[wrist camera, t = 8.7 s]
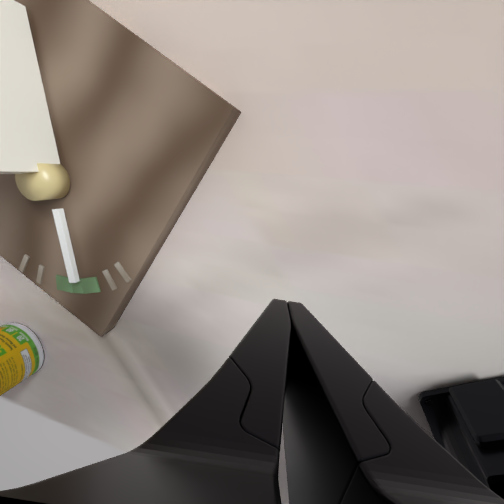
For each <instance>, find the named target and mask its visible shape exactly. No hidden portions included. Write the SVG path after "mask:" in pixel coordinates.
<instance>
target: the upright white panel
mask: <svg viewBox="0 0 504 504" xmlns="http://www.w3.org/2000/svg"><path fill="white" fill-rule="evenodd" d="M0 174H15V180H16V184H17V187H18V189H19V191H20V192H21V193H22V195H23V196H25V197H26V198H27V199H29V200H32V201H39V200H50V199H60V198H63V197H64V196H66V195H67V193H68V191H69V188H70V178H69V175H68V173H67V171H66V169H65V168H64V167H63V166H62V165H61V164H60V160H59V156H58V151H57V147H56V142H55V138H54V133H53V129H52V124H51V120H50V115H49V111H48V106H47V102H46V97H45V93H44V88H43V84H42V79H41V75H40V70H39V66H38V61H37V57H36V52H35V48H34V43H33V39H32V34H31V30H30V25H29V21H28V16H27V12H26V7H25V6H24V5H22V4H20V3H18V2H16V1H14V0H0ZM52 212H53V216H54V220H55V225H56V229H57V233H58V237H59V242H60V246H61V250H62V254H63V259H64V263H65V267H66V271H67V275H68V280H69V283H77V282H79V281H80V279H79V275H78V270H77V266H76V262H75V257H74V253H73V249H72V244H71V240H70V235H69V231H68V227H67V222H66V218H65V213H64V209H63V208H61V209H52Z"/></svg>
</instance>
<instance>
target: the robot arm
mask: <svg viewBox="0 0 504 504" xmlns="http://www.w3.org/2000/svg"><path fill="white" fill-rule="evenodd" d="M372 380H373V379H372V378H371V377H370V375H369V374H368V373H367V372H366V371H365V370H364V369H363V368H362V367H361V366H360V365H359V364H358V363H357V362H356V361H355V360H354V358H353V357H352V356H351V355H350V354H349V353H348V352H347V351H346V350H345V349H344V348H343V347H342V346H341V345H340V344H339V343H338V341H337V340H336V339H335V338H334V337H333V336H332V335H331V334H330V333H329V332H328V331H327V330H326V329H325V328H324V327H323V326H322V324H321V323H320V322H319V321H318V320H317V319H316V318H315V317H314V316H313V315H312V314H311V313H310V312H309V311H308V310H307V309H306V307H305V306H304V305H303V304H301V303H297V302H291V301H289V302H286V301H285V300H278V299H273V300H272V301H271V302H270V304H269V305H268V306H267V308H266V309H265V310H264V312H263V313H262V314H261V315H260V317H259V318H258V319H257V321H256V322H255V323H254V325H253V326H252V327H251V329H250V330H249V331H248V333H247V334H246V335H245V336H244V338H243V339H242V340H241V342H240V343H239V344H238V346H237V347H236V348H235V350H234V351H233V352H232V354H231V355H230V356H229V358H228V359H227V360H226V361H225V362H224V364H223V365H222V366H221V368H220V369H219V370H218V371H217V372H216V374H215V375H214V376H213V377H212V378H211V380H210V381H209V382H208V383H207V384H206V385H205V386H204V387H203V388H202V389H201V390H200V391H199V392H198V393H197V394H196V395H195V396H194V397H193V398H192V399H191V400H190V401H189V402H188V403H187V404H186V405H185V406H183V407H182V408H181V409H180V410H179V411H178V412H177V413H176V414H175V415H174V416H173V417H172V418H171V419H170V420H169V421H168V422H167V423H166V424H165V425H164V426H163V427H161V428H160V429H159V430H158V431H157V432H156V433H155V434H154V435H153V436H152V437H151V438H149V439H148V440H147V441H146V442H144V443H143V444H141V445H140V446H138V447H137V448H135V449H133V450H131V451H130V452H127V453H125V454H122V455H119V456H116V457H113V458H110V459H107V460H104V461H101V462H98V463H95V464H92V465H88V466H85V467H82V468H79V469H76V470H73V471H70V472H67V473H64V474H61V475H58V476H55V477H52V478H49V479H46V480H43V481H40V482H37V483H34V484H30V485H27V486H23V487H19V488H16V489H9V490H4V491H0V504H281V498H280V490H279V482H278V468H279V452H280V444H281V433H282V423H283V434H284V446H285V458H286V470H287V481H288V493H289V504H504V377H499V378H494V379H489V380H484V381H478V382H473V383H468V384H463V385H458V386H453V387H447V388H442V389H437V390H432V391H427V392H423V393H421V394H420V395H419V401H420V404H421V406H422V409H423V411H424V413H425V416H426V418H427V421H428V423H429V426H430V428H431V431H432V433H433V436H434V438H435V439H434V438H432V437H431V436H430V435H429V434H428V433H427V432H426V431H425V430H424V429H423V428H422V427H420V426H419V425H418V424H417V423H416V422H415V421H414V420H413V419H412V418H411V417H410V416H409V415H408V414H407V413H406V412H405V411H403V410H402V409H401V408H400V407H399V406H398V405H397V404H396V402H395V401H394V400H393V399H392V398H391V397H390V396H389V395H388V394H387V393H386V392H385V391H384V390H383V389H382V388H381V387H380V386H379V385H378V384H377V383H376V382H375V381H372ZM427 399H430V401H429V402H426V401H425V400H427Z"/></svg>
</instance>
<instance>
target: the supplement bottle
mask: <svg viewBox="0 0 504 504" xmlns="http://www.w3.org/2000/svg"><path fill="white" fill-rule="evenodd" d="M43 360H44V352H43V348H42V345H41V343H40V341H39V339H38V338H37V336H36V335H35V334H34V333H33V332H32V331H31V330H30V329H29V328H27V327H26V326H24V325H22V324H18V323H8V324H5V325H3V326H0V396H1V395H2V394H4V393H5V392H7V391H8V390H10V389H11V388H13V387H14V386H16V385H17V384H19V383H20V382H22V381H23V380H25V379H26V378H28V377H29V376H31V375H32V374H34V373H35V372H36V371H38V370H39V369H40V367H41V366H42V364H43Z"/></svg>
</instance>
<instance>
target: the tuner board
mask: <svg viewBox="0 0 504 504" xmlns="http://www.w3.org/2000/svg"><path fill="white" fill-rule="evenodd" d="M14 1H16V2H18V3H20V4H22V5H24V6H25V7H26V12H27V16H28V21H29V25H30V30H31V34H32V39H33V43H34V48H35V52H36V57H37V61H38V66H39V70H40V75H41V79H42V84H43V88H44V93H45V97H46V102H47V106H48V111H49V115H50V120H51V124H52V129H53V133H54V138H55V142H56V147H57V151H58V156H59V160H60V164H61V165H62V166H63V167H64V168H65V169H66V171H67V173H68V175H69V178H70V188H69V191H68V193H67V195H66V196H64V197H63V198H60V199H50V200H39V201H32V200H29V199H27V198H26V197H25V196H23V195H22V193H21V192H20V191H19V189H18V187H17V184H16V180H15V174H0V255H1V256H2V257H3V258H4V259H5V260H7V261H8V262H9V263H10V264H12V265H13V266H14V267H15V268H17V269H18V270H19V271H20V272H22V273H23V274H24V275H25V276H26V277H28V278H29V279H30V280H31V281H33V282H34V283H35V284H36V285H38V286H39V287H40V288H41V289H43V290H44V291H45V292H46V293H48V294H49V295H50V296H51V297H52V298H54V299H55V300H56V301H57V302H59V303H60V304H61V305H62V306H64V307H65V308H66V309H67V310H69V311H70V312H71V313H72V314H73V315H75V316H76V317H77V318H78V319H80V320H81V321H82V322H83V323H85V324H86V325H87V326H88V327H90V328H91V329H92V330H93V331H94V332H96V333H97V334H98V335H99V336H103V335H104V334H106V333H107V332H109V331H110V330H111V329H113V328H114V326H115V325H116V323H117V321H118V320H119V318H120V316H121V315H122V313H123V311H124V310H125V308H126V306H127V304H128V303H129V301H130V299H131V298H132V296H133V294H134V293H135V291H136V289H137V288H138V286H139V284H140V282H141V281H142V279H143V277H144V276H145V274H146V272H147V271H148V269H149V267H150V266H151V264H152V262H153V261H154V259H155V257H156V255H157V254H158V252H159V250H160V249H161V247H162V245H163V244H164V242H165V240H166V239H167V237H168V235H169V233H170V232H171V230H172V228H173V227H174V225H175V223H176V222H177V220H178V218H179V217H180V215H181V213H182V212H183V210H184V208H185V206H186V205H187V203H188V201H189V200H190V198H191V196H192V195H193V193H194V191H195V190H196V188H197V186H198V184H199V183H200V181H201V179H202V178H203V176H204V174H205V173H206V171H207V169H208V168H209V166H210V164H211V163H212V161H213V159H214V157H215V156H216V154H217V152H218V151H219V149H220V147H221V146H222V144H223V142H224V141H225V139H226V137H227V135H228V134H229V132H230V130H231V129H232V127H233V125H234V124H235V122H236V120H237V119H238V117H239V115H240V114H241V112H240V111H239V110H238V109H236V108H235V107H234V106H232V105H231V104H230V103H228V102H227V101H225V100H224V99H223V98H221V97H220V96H219V95H217V94H216V93H215V92H213V91H212V90H210V89H209V88H208V87H206V86H205V85H204V84H202V83H201V82H200V81H198V80H197V79H195V78H194V77H193V76H191V75H190V74H189V73H187V72H186V71H184V70H183V69H182V68H180V67H179V66H178V65H176V64H175V63H174V62H172V61H171V60H169V59H168V58H167V57H165V56H164V55H163V54H161V53H160V52H159V51H157V50H156V49H154V48H153V47H152V46H150V45H149V44H148V43H146V42H145V41H143V40H142V39H141V38H139V37H138V36H137V35H135V34H134V33H133V32H131V31H130V30H128V29H127V28H126V27H124V26H123V25H122V24H120V23H119V22H118V21H116V20H115V19H113V18H112V17H111V16H109V15H108V14H107V13H105V12H104V11H102V10H101V9H100V8H98V7H97V6H96V5H94V4H93V3H92V2H90V1H89V0H14ZM61 208H63V209H64V213H65V218H66V222H67V227H68V231H69V235H70V240H71V244H72V249H73V253H74V257H75V262H76V266H77V270H78V275H79V279H80V281H79V282H77V283H69V280H68V275H67V271H66V267H65V263H64V259H63V254H62V250H61V246H60V242H59V237H58V233H57V229H56V225H55V220H54V216H53V212H52V209H61Z"/></svg>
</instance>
